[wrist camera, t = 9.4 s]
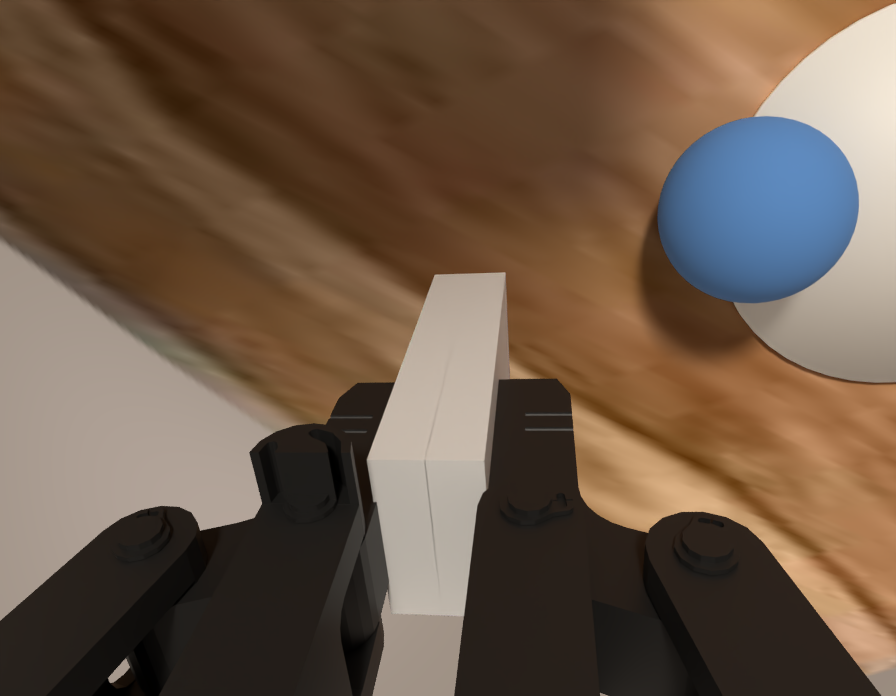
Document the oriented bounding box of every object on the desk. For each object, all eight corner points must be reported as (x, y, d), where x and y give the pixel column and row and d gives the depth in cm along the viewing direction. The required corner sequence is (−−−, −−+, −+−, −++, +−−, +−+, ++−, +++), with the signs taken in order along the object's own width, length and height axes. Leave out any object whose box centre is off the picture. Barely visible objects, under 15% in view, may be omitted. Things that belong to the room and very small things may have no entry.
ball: (918, 129, 16) (860, 135, 21) (685, 95, 18) (682, 108, 23) (841, 342, 18) (804, 301, 23) (634, 297, 20) (642, 267, 25)
